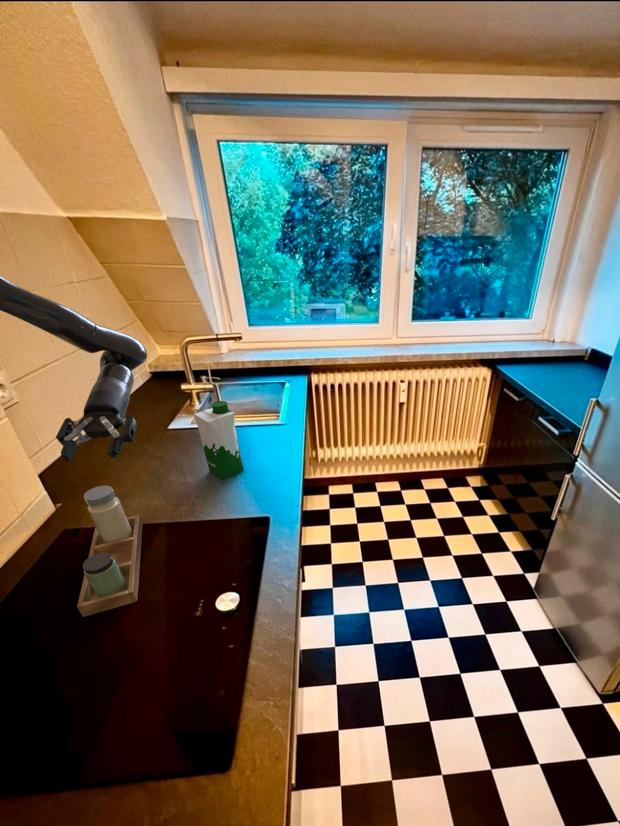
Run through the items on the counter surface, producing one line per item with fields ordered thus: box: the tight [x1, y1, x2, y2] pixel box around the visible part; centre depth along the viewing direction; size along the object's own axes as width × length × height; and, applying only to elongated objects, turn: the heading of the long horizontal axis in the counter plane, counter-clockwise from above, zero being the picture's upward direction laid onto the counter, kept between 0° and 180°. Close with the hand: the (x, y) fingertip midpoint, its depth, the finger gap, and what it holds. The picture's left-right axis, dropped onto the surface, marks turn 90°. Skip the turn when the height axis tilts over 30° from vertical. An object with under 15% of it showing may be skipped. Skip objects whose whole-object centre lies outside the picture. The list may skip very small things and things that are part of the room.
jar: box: [83, 485, 134, 544], centre depth 83 cm, size 6×6×13 cm
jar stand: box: [76, 514, 143, 618], centre depth 80 cm, size 9×25×3 cm, turn 23°
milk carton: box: [193, 400, 245, 480], centre depth 107 cm, size 9×9×20 cm
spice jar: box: [82, 553, 127, 598], centre depth 72 cm, size 5×5×8 cm
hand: (89, 457), depth 78 cm, fingers open, 8 cm apart
